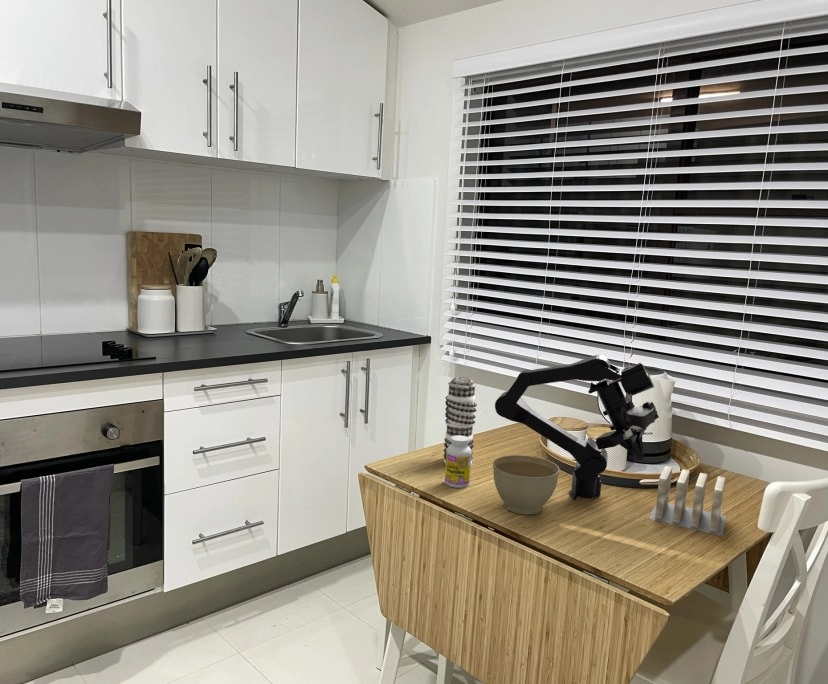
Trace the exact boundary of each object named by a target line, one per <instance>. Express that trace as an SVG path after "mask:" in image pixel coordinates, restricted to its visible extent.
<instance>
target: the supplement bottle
mask: <svg viewBox="0 0 828 684" xmlns="http://www.w3.org/2000/svg"><path fill="white" fill-rule="evenodd" d="M451 443H452V445H450V446H449V447H448V448H447V453H446V464H445V473H444V484H446V485H447V486H448V487H451V488H456V489H462V488H466V487H468V486H469V485H470V482H471V480H470V479H471V470H472V469H471V465H472V464H471V454H472V451H473V450H472V451H471V449H470V448H469V447H468V443H469V438H468V437H465V436H459V435H457V436H452V437H451ZM472 455H473V454H472Z"/></svg>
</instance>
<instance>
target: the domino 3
mask: <svg viewBox="0 0 828 684" xmlns="http://www.w3.org/2000/svg"><path fill="white" fill-rule="evenodd" d="M707 478H708V473H703V472H700V473H699V475H698V478H697V480H696V482H695V483H696V484H695V487H694V495H693V504H692V508H693V511H692V520H691V526H693V527H697V528H698V526H699V523H700V520H701V517H702V513H703V511H704V504H705V496H706V488H707V481H708V479H707Z"/></svg>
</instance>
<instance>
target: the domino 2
mask: <svg viewBox="0 0 828 684" xmlns="http://www.w3.org/2000/svg"><path fill="white" fill-rule="evenodd" d="M690 472H691V471H690V470H688V469H682V470H681V472H680V475H679V477H678V478H677V480H676V487H675V489H676V490H675V496H674V497H675V498H674V504H675V505H674V514H673V522H675V523H680V522H681V519H682V516H683V514H684V511H685V507H687V505H686V504H687V499H688V497H687V496H688V489H689V480H690Z"/></svg>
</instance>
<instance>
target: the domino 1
mask: <svg viewBox="0 0 828 684" xmlns="http://www.w3.org/2000/svg"><path fill="white" fill-rule="evenodd" d="M672 473H673V466H669V465H668V466H667V465H665V466H664V468H663V470H662V473H661V474H660V476H659V479H658V485H657V486H658V487H657V495H656V503H655V505H656V512H655V518H658V519H662V518H663V516H664V514H665V511H666V509H667V507H668V503H670V494H671V493H670V491H671V484H672V475H673V474H672Z"/></svg>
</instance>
